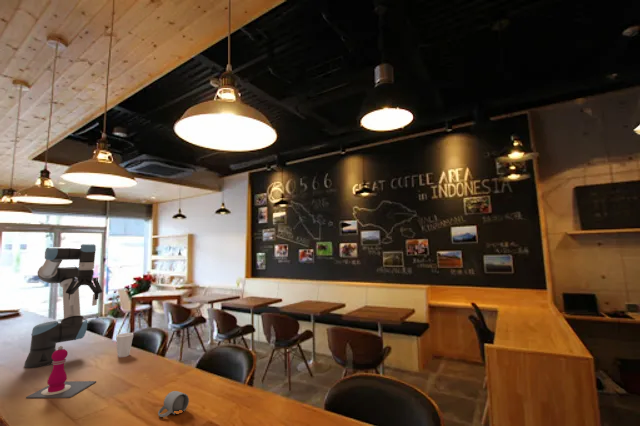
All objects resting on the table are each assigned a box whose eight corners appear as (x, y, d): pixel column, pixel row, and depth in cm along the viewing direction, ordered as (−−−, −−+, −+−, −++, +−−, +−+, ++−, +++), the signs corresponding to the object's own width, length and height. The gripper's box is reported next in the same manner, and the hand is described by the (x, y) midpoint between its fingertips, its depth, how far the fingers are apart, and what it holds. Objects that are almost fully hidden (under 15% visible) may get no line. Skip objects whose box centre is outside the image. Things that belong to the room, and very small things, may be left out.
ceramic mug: (178, 404, 136) (179, 386, 137) (188, 410, 131) (189, 391, 132) (153, 415, 127) (154, 395, 128) (164, 421, 123) (165, 401, 124)
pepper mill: (69, 387, 151) (73, 344, 154) (52, 393, 145) (57, 349, 147) (59, 385, 154) (63, 343, 156) (42, 391, 147) (47, 347, 150)
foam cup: (135, 353, 204) (136, 333, 206) (125, 358, 195) (126, 336, 197) (121, 353, 205) (123, 332, 207) (111, 357, 196) (112, 336, 198)
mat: (25, 398, 142) (26, 396, 142) (56, 382, 159) (56, 381, 159) (70, 397, 142) (70, 396, 143) (95, 382, 159) (96, 380, 159)
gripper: (60, 269, 185) (56, 306, 182) (102, 269, 186) (99, 306, 183) (70, 269, 192) (66, 304, 190) (110, 269, 193) (107, 304, 190)
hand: (82, 305), depth 186 cm, fingers open, 13 cm apart
